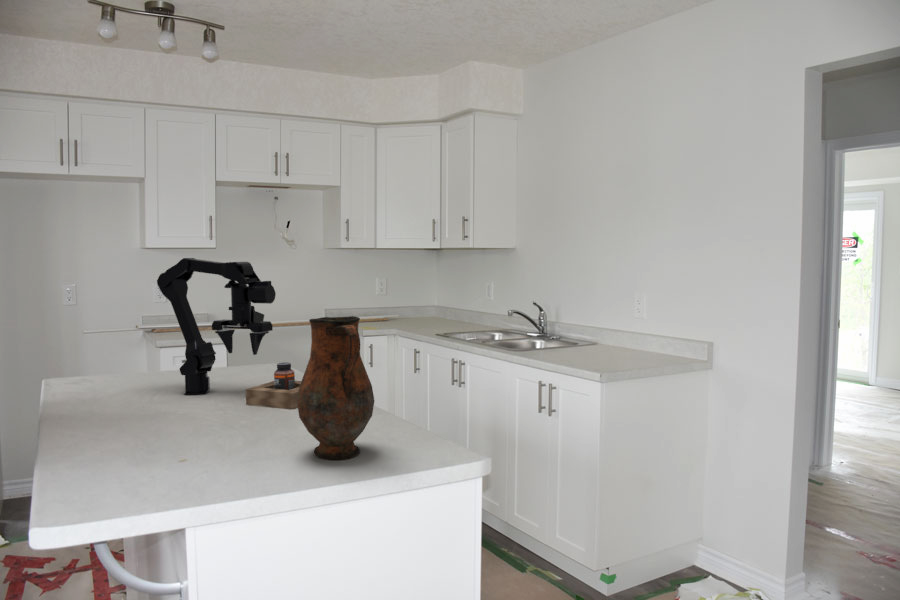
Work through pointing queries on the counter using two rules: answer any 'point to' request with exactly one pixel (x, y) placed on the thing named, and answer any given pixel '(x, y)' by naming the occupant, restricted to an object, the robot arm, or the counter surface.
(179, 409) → the counter surface
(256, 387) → the walnut well
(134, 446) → the counter surface
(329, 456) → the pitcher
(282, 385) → the supplement bottle
